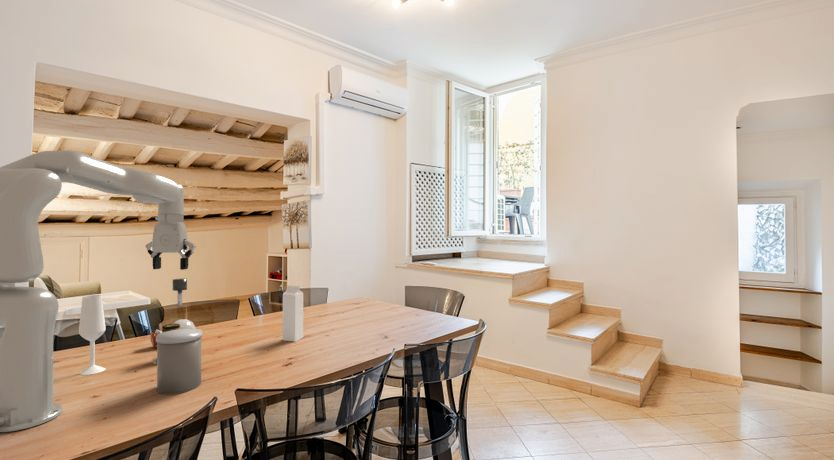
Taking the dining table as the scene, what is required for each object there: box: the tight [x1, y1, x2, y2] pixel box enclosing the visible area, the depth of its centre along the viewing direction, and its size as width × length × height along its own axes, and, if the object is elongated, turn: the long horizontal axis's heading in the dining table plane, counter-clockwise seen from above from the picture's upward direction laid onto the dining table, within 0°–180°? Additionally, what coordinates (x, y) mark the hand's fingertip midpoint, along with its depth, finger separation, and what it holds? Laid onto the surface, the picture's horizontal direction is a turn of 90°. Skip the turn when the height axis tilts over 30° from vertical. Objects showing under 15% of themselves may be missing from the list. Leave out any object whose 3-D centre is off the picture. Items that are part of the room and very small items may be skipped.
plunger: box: [172, 278, 188, 306], centre depth 116 cm, size 4×4×8 cm
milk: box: [282, 285, 304, 342], centre depth 165 cm, size 6×6×22 cm
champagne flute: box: [78, 294, 106, 376], centre depth 127 cm, size 7×7×24 cm
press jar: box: [156, 328, 204, 395], centre depth 116 cm, size 13×12×15 cm
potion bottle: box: [149, 318, 196, 349], centre depth 156 cm, size 9×10×15 cm
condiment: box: [153, 323, 180, 365], centre depth 139 cm, size 7×8×12 cm
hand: (170, 269), depth 138 cm, fingers open, 9 cm apart
